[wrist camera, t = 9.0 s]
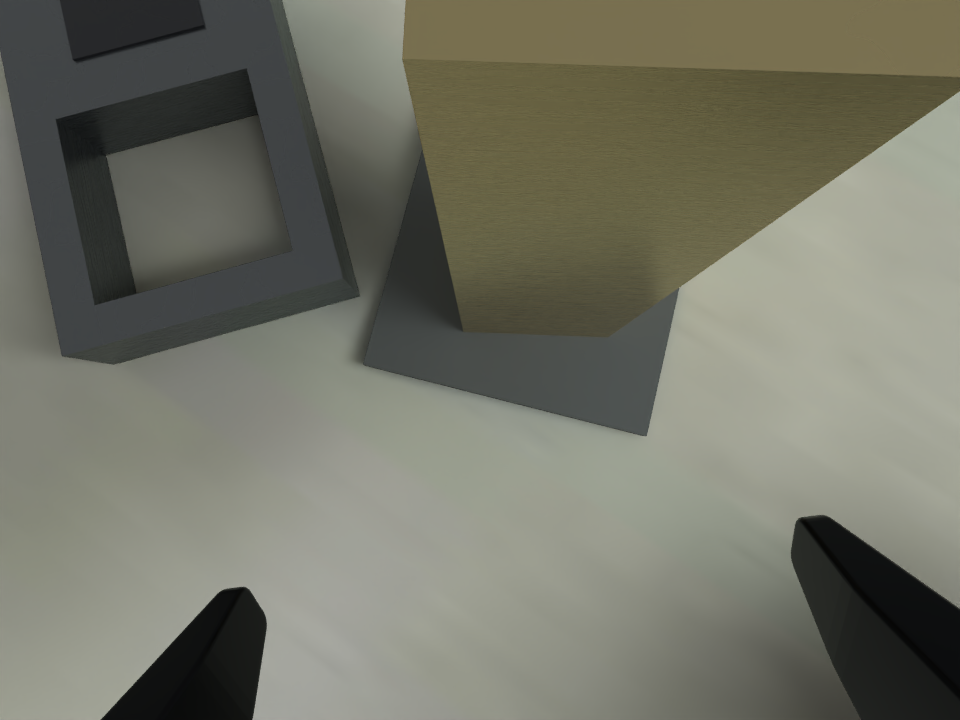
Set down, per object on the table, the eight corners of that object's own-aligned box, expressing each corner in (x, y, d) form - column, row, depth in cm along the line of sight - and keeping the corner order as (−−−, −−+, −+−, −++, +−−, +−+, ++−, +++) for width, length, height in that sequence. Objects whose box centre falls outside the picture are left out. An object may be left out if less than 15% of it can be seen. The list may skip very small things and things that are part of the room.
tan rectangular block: (607, 337, 20) (980, 77, 5) (463, 332, 20) (402, 58, 5) (609, 198, 20) (950, -412, 6) (469, 193, 20) (430, -423, 6)
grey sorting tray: (359, 296, 21) (342, 277, 18) (113, 364, 20) (59, 355, 18) (266, -58, 22) (237, -122, 19) (36, 2, 22) (-23, -55, 19)
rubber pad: (643, 435, 20) (646, 436, 19) (365, 365, 20) (362, 364, 20) (702, 167, 21) (706, 162, 21) (437, 105, 21) (436, 99, 21)
